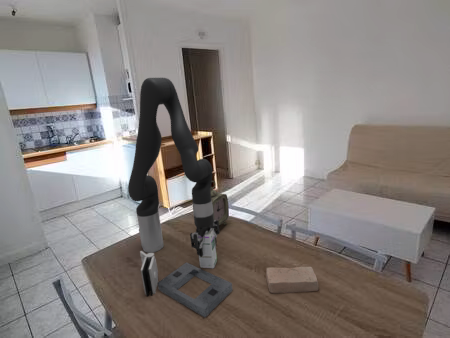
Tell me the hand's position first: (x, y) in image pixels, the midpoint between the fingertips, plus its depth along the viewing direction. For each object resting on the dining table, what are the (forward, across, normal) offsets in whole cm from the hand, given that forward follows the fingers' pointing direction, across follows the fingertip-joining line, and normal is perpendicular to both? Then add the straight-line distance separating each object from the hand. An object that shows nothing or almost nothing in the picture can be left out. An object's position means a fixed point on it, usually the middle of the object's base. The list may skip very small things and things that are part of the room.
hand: (207, 250), depth 106 cm
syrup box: (+6, 0, 0) cm, 6 cm away
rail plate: (+6, +14, +6) cm, 16 cm away
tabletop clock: (+6, -24, -17) cm, 30 cm away
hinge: (+6, +20, -11) cm, 24 cm away
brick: (+7, -7, +32) cm, 33 cm away
